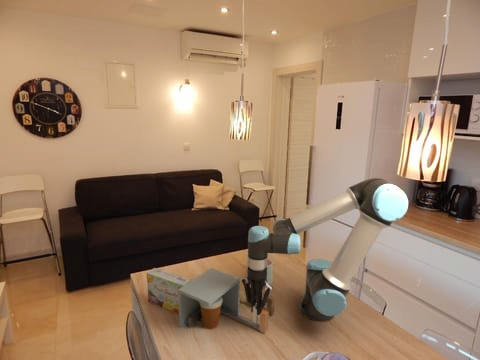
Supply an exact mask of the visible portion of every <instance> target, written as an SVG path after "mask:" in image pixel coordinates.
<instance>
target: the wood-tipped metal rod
mask: <svg viewBox="0 0 480 360" xmlns="http://www.w3.org/2000/svg"><path fill="white" fill-rule="evenodd" d="M220 314H222V315H224V316H226V317H228V318H231V319H233V320H235V321H238V322H240V323H242V324H245V325H246V326H249V327H252V328H253V329H256V330H258V331H259V332H261V333H263V334H266V333H267V332H268V331H269V317H270V316H269V312H267V311H265V310H262V311H261V313H260V315H259V322H258V321H257V322H256V323H255V322H253V319H250V318H248V317H245V316H243V315H241V314H236V313H234V312H232V311H229V310H227V309H225V308H223V307H221V310H220ZM201 321H202V314H201V308H200V309H199V310H197V311H196V312H195V313H194V314H192V315H191V316H190V317H188V323H187V324H188V327H189V328H193V327H194V326H195V325H196V324H198V323H199V322H201Z"/></svg>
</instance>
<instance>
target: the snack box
mask: <svg viewBox="0 0 480 360" xmlns="http://www.w3.org/2000/svg"><path fill="white" fill-rule="evenodd" d="M192 280H193V279H188V278H186V277H183V276H180V275H177V274H174V273H171V272H168V271H165V270H162V269H159V268H156V267H153V268H152V269H150V270H149V271H147V272H146V283H147V299H148V301H147V302H148V303H150V302H151V303H150V304H152V303H153V305H155V304H156V305H155V306H157V305H158V307H160V308H162V307H163V309H165V310H167V309H168V311H170V312H172V313H174V312H175V314H177V315H179V295H178V289H180V288H181V287H183V286H185V285H186V284H188V283H189V282H191V281H192Z"/></svg>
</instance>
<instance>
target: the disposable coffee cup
mask: <svg viewBox="0 0 480 360" xmlns="http://www.w3.org/2000/svg"><path fill="white" fill-rule="evenodd" d="M222 302H223V299H222V297H219V298H218V299H217V300H216V301H214V302H213V303H212V304H211V305H209V306H208V305H206V304H204V303H201V302H199V304H200V307H201V314H202V319H201V321H202V326H203V328H205V329H207V330H213V329H216V328H217V327H219V322H220V317H221V316H220V315H221V313H220V310H221V304H222Z"/></svg>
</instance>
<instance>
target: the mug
mask: <svg viewBox="0 0 480 360" xmlns="http://www.w3.org/2000/svg"><path fill="white" fill-rule="evenodd" d="M273 274H274V261H273V260H272V259H271V258H267V278H266V279H267V284H268V285H270V284H271V283H273Z"/></svg>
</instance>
